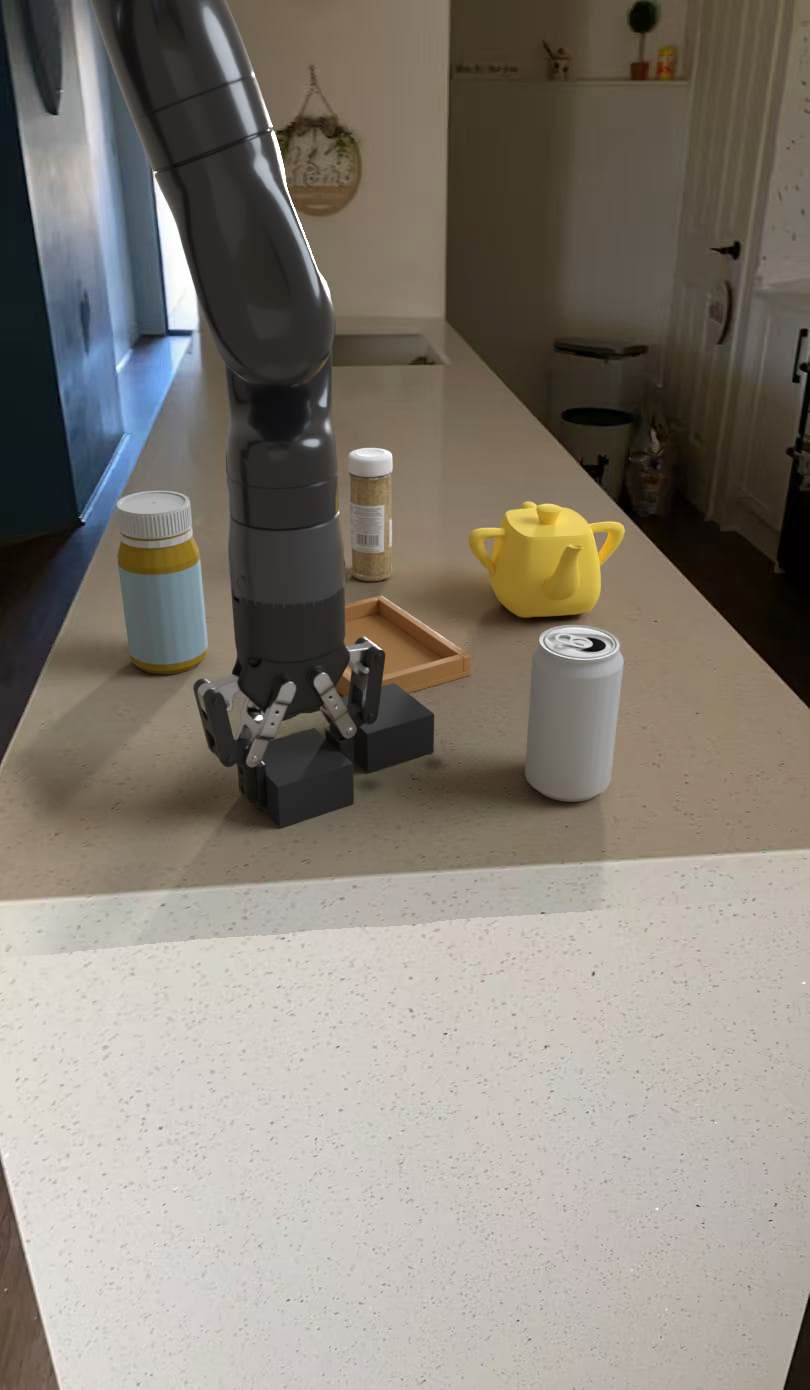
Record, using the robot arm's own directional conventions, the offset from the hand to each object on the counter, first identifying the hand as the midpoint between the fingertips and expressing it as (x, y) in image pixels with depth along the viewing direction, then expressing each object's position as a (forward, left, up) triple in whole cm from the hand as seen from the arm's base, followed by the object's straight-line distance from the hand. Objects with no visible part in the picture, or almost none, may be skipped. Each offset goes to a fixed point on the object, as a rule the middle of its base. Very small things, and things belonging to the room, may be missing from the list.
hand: (297, 788), depth 80 cm
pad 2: (+9, +3, -1) cm, 9 cm away
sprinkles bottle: (+26, +34, -1) cm, 43 cm away
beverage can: (+18, -9, -1) cm, 20 cm away
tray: (+16, +17, -1) cm, 23 cm away
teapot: (+37, +18, -1) cm, 41 cm away
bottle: (0, +26, -1) cm, 26 cm away
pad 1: (0, 0, -1) cm, 1 cm away
